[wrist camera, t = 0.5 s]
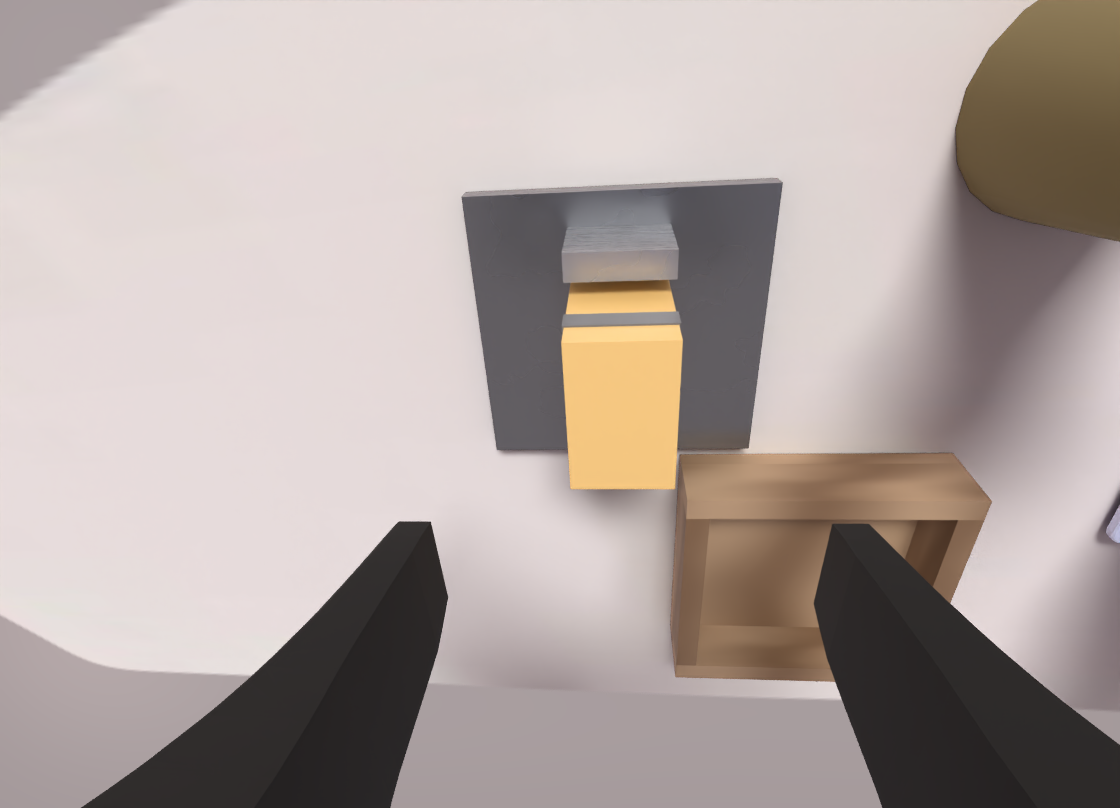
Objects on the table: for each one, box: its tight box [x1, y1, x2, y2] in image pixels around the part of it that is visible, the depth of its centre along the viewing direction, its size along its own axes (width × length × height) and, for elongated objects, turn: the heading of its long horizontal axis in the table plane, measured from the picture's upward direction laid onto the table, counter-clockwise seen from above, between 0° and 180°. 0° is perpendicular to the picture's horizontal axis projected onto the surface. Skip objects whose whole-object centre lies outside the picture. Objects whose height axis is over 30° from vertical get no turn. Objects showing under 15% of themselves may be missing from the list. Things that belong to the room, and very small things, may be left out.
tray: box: [670, 453, 992, 682], centre depth 23 cm, size 10×10×3 cm
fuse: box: [561, 280, 683, 489], centre depth 17 cm, size 3×4×5 cm, turn 3°
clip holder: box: [462, 178, 783, 450], centre depth 19 cm, size 9×9×3 cm
